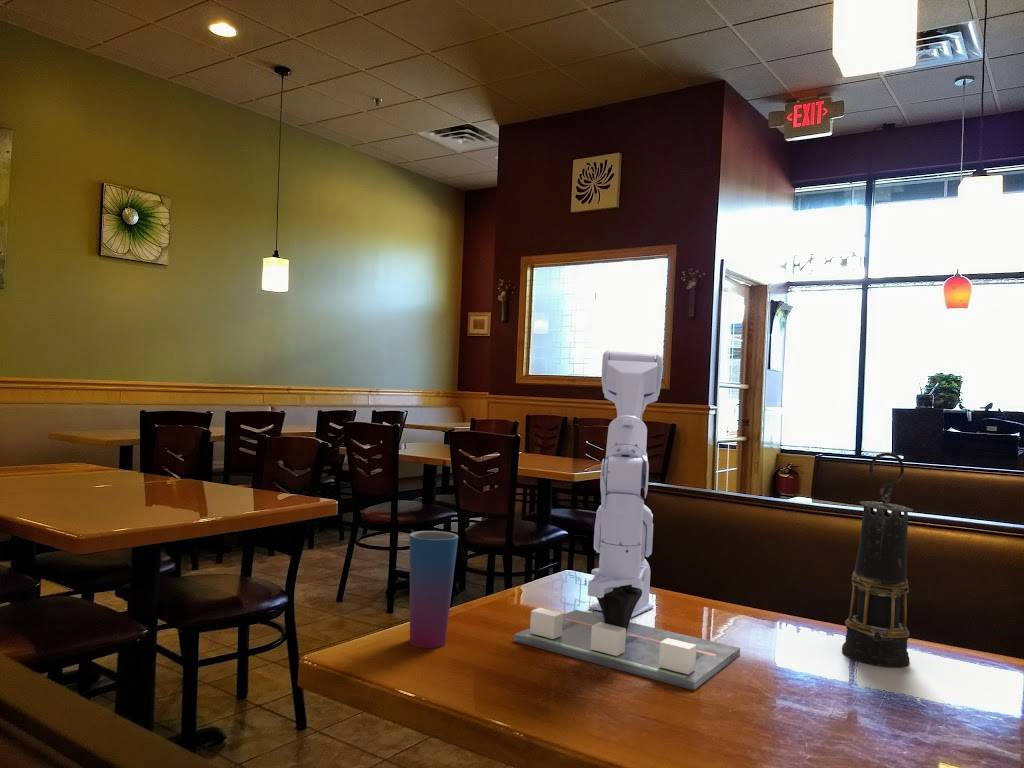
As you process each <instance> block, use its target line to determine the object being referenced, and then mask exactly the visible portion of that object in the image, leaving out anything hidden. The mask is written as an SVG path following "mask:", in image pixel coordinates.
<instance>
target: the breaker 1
mask: <svg viewBox="0 0 1024 768" xmlns="http://www.w3.org/2000/svg"><path fill="white" fill-rule="evenodd" d="M563 615H564V612H562V611H561V612H559V611H555V610H552V609H548V608H543V607H537V608H534V609H532V610H530V619H529V621H530V623H529V624H530V625H529V628H530V633H532V634H535V635H539V636H543V637H547V638H551V639H555V638H557V637H560V636H562V627H563Z"/></svg>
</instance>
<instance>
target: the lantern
mask: <svg viewBox="0 0 1024 768" xmlns="http://www.w3.org/2000/svg"><path fill="white" fill-rule="evenodd" d="M882 457H892V458H895V459H896V461H898V464H899V470H900V471H899V475H898V477H897V479H896V480H894V481H893V482H891V483H887V484H886V483H885V484H884V485H883V486H882V487H880V489H879V495H880V499H881V501H875V500H869V501H868V500H866V501H865V500H861V501H859V503H860V505H862V506H863V513H862V519H861V528H860V536H859V542H858V549H857V555H856V561H855V566H854V570H853V572H852V575H851V584H852V592H851V599H850V607H849V614H848V617H847V618H846V620H845V621H844V624H845V625H846V627H845V628H846V634H845V640H844V643H843V644H842V645H841V646H842V647H841V652H842V654H843V655H844V656H845V657H847V658H849V659H851V660H853V661H857V662H860V663H862V664H864V665H865V664H866V665H870V666H876V667H881V668H891V669H895V668H904V667H909V665H910V663H911V662H910V660H911V659H910V656H909V652H908V640H909V636H910V631H909V629H908V627H907V618H908V616H907V615H908V613H907V611H908V609H907V607H908V606H907V605H908V604H907V603H908V602H907V599H908V598H907V597H908V596H907V595H908V593H909V592H910V589H909V582H908V578H907V574H908V573H907V568H908V565H907V563H908V562H907V561H908V529H909V528H908V526H909V525H908V523H909V522H908V521H909V520H908V518H909V512H914V509H913V508H910V507H907V506H905V505H900V504H897V503H890V502H891V497H890V496H891V494H892V492H893V489H892V487H893V488H894V487H895V486H896V485H898V484H899V483H900V482H901V480H902V479H903V477H904V474H905V466H904V463H903V460H902V458H901V456H899V455H898V454H896V453H893V452H882V453H879V454H877V455H876V456H875V457H873V458H872V460H871V462H870V464H869V469H868V470H869V471H868V473H869V474H870V475H874V466H875V463H876V461H877V460H879V458H882ZM886 489H887V492H885V490H886ZM874 509H875V510H874ZM889 511H890V512H889ZM902 513H903V514H902ZM857 588H858V597H857V600H858V601H857V614H854V610H855V609H854V607H855V602H856V601H855V600H856V599H855V598H856V592H857V591H856V590H857ZM901 596H902V600H903V601H902V602H903V603H902V606H903V607H902V623H901V622H900V621H899V620H900V605H901Z"/></svg>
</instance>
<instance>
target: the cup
mask: <svg viewBox="0 0 1024 768" xmlns="http://www.w3.org/2000/svg"><path fill="white" fill-rule="evenodd" d="M458 540H459V535H458V534H457V533H453V532H448V531H440V530H420V531H419V530H418V531H413V532H411V533H409V643H410V644H411V646H413V647H418V648H421V649H435V648H441V647H443V646H445V645H446V643H447V642H446V641H447V634H448V626H449V617H450V611H451V610H450V609H451V601H452V600H451V599H452V591H453V584H454V575H455V566H456V558H457V550H458V542H459V541H458Z"/></svg>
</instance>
